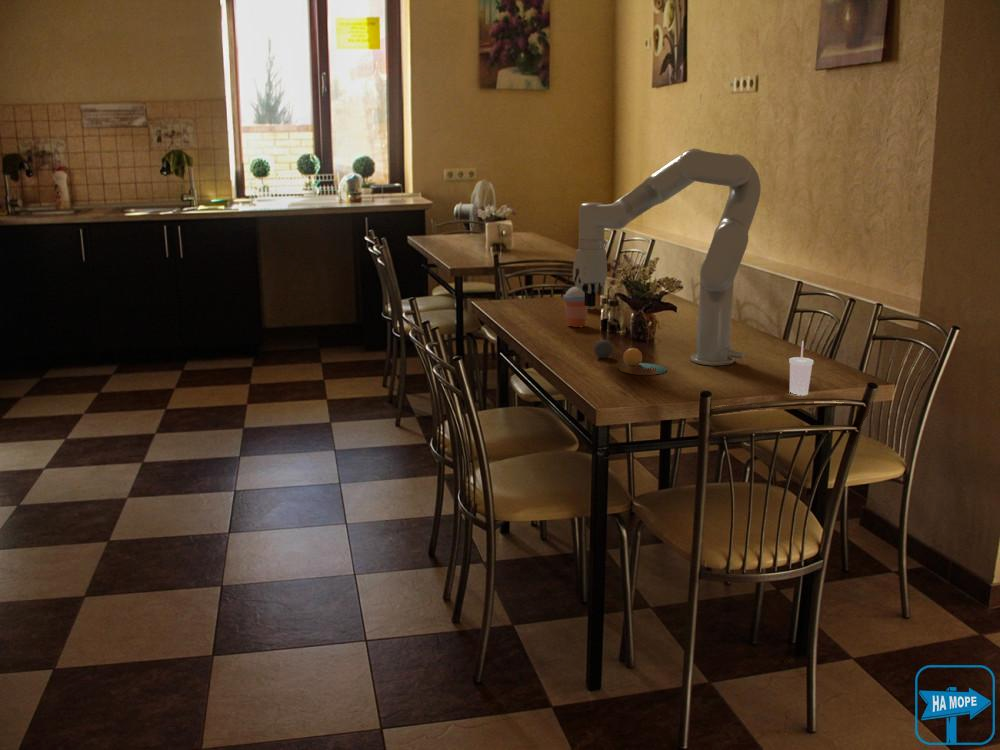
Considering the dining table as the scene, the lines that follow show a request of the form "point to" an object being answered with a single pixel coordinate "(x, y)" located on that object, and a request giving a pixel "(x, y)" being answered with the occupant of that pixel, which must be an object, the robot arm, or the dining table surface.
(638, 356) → the object ball
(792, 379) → the beverage cup
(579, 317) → the cup with straw
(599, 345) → the dark grey ball
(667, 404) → the dining table surface
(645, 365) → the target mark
